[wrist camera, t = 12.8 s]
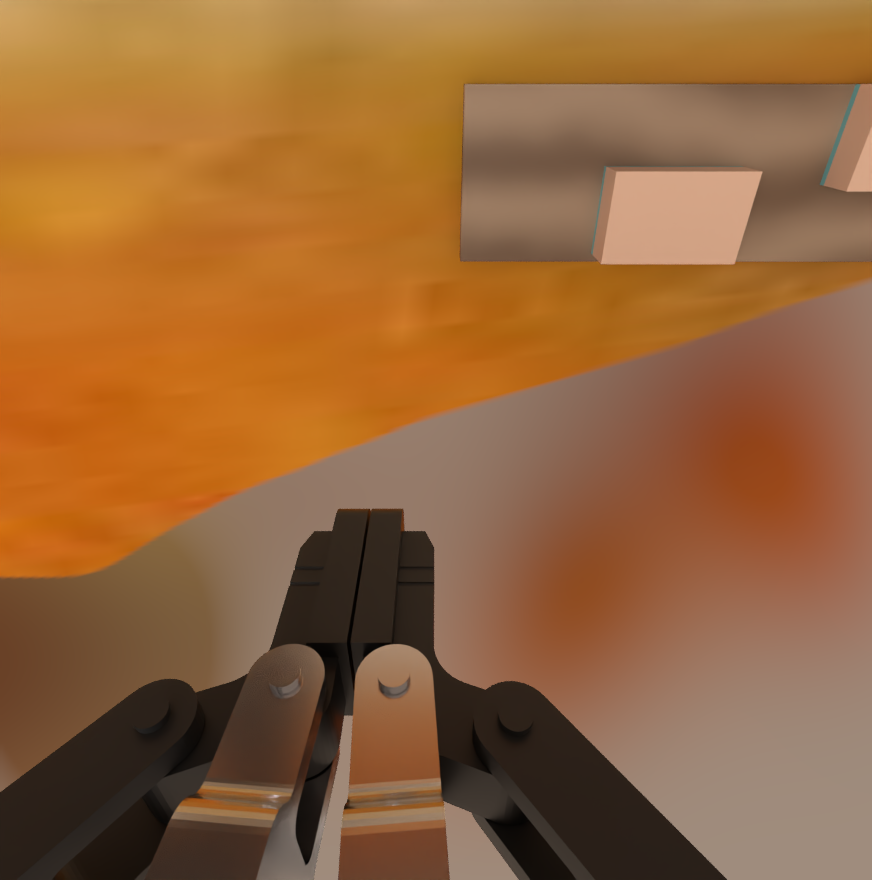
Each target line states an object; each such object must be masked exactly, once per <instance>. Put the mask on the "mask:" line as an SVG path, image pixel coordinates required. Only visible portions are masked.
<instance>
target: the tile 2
mask: <svg viewBox="0 0 872 880" xmlns="http://www.w3.org/2000/svg"><path fill="white" fill-rule="evenodd" d="M820 185H823V186H827V187H831V188H835V189H838V190H842V191H846V192H872V84H856V85H855V88H854V91H853V94H852V96H851V99H850V102H849V105H848V107H847V110H846V113H845V116H844V119H843V121H842V124H841V127H840V130H839V132H838V135H837V138H836V141H835V143H834V146H833V149H832V152H831V155H830V157H829V160H828V163H827V166H826V168H825V171H824V174H823V177H822V180H821V182H820Z"/></svg>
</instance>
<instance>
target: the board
mask: <svg viewBox="0 0 872 880" xmlns="http://www.w3.org/2000/svg"><path fill="white" fill-rule="evenodd" d="M855 85H856V84H464V104H463V146H462V188H461V229H460V261H598V260H597V259H596V258H595V257H594V256H593V255H592V254H591V250H592V244H593V237H594V231H595V224H596V218H597V211H598V205H599V199H600V192H601V186H602V179H603V173H604V167H605V166H743V167H747V168H751V169H755V170H759V171H762V175H761V179H760V182H759V185H758V189H757V192H756V195H755V198H754V202H753V205H752V208H751V212H750V215H749V218H748V222H747V225H746V228H745V231H744V235H743V238H742V241H741V245H740V248H739V251H738V255H737V258H736V261H735V262H872V192H846V191H842V190H838V189H835V188H831V187H827V186H823V185H820V182H821V180H822V177H823V174H824V171H825V168H826V166H827V163H828V160H829V157H830V155H831V152H832V149H833V146H834V143H835V141H836V138H837V135H838V132H839V130H840V127H841V124H842V121H843V119H844V116H845V113H846V110H847V107H848V105H849V102H850V99H851V96H852V94H853V91H854V88H855Z"/></svg>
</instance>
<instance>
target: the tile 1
mask: <svg viewBox="0 0 872 880" xmlns="http://www.w3.org/2000/svg"><path fill="white" fill-rule="evenodd" d="M761 175H762V171H759V170H755V169H751V168H747V167H743V166H605V167H604V173H603V179H602V186H601V192H600V199H599V205H598V211H597V218H596V224H595V231H594V237H593V244H592V250H591V254H592V255H593V256H594V257H595V258H596V259H597V260H598V262H599V263H600V264H735V261H736V258H737V255H738V251H739V248H740V245H741V241H742V238H743V235H744V231H745V228H746V225H747V222H748V218H749V215H750V212H751V208H752V205H753V202H754V198H755V195H756V192H757V189H758V185H759V182H760V179H761Z"/></svg>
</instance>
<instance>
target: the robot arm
mask: <svg viewBox="0 0 872 880" xmlns="http://www.w3.org/2000/svg"><path fill="white" fill-rule="evenodd" d="M344 715H353V725H352V743H351V759H350V777H349V792H348V800H347V803H346V804H345V806H344V811H343V818H342V828H341V843H340V857H339V874H338V880H450V875H449V864H448V863H449V862H448V849H447V836H446V823H445V811H444V802H443V801H445V802H447V803H450V804H452V805H455V806H457V807H460V808H462V809H465V810H467V811H469V812H472V815H473V817H474V818H475V820H476V822H477V823H478V824H479V826H480V827H481V829H482V830H483V831H484V833H485V834H486V835H487V837H488V838H489V839H490V841H491V842H492V843H493V845H494V846H495V848H496V849H497V850H498V852H499V853H500V854H501V856H502V857H503V859H504V860H505V861H506V863H507V864H508V865H509V867H510V868H511V869H512V871H513V872H514V874H515V875H516V876H517V878H518V879H519V880H727V879H726V878H725V877H724V876H723V875H722V874H721V873H720V872H719V871H718V870H717V869H716V868H715V867H714V866H713V865H712V864H711V863H710V862H709V861H708V860H707V859H706V858H705V857H704V856H703V855H702V854H701V853H700V852H699V851H698V850H697V849H696V848H695V847H694V846H693V845H692V844H691V843H690V842H689V841H688V840H687V839H686V838H685V837H684V836H683V835H682V834H681V833H680V832H679V831H678V830H677V829H676V828H675V827H674V826H673V825H672V824H671V823H670V822H669V821H668V820H667V819H666V818H665V817H664V816H663V815H662V814H661V813H660V812H659V811H658V810H657V809H656V808H655V807H654V806H653V805H652V804H651V803H650V802H649V801H648V800H647V799H646V798H645V797H644V796H643V795H642V794H641V793H640V792H639V791H638V790H637V789H636V788H635V787H634V786H633V785H632V784H631V783H630V782H629V781H628V780H627V779H626V778H625V777H624V776H623V775H622V774H621V773H620V772H619V771H618V770H617V769H616V768H615V767H614V766H613V765H612V764H611V763H610V762H609V761H608V760H607V759H606V758H605V757H604V756H603V755H602V754H601V753H600V752H599V751H598V750H597V749H596V748H595V747H594V746H593V745H592V744H591V743H590V742H589V741H588V740H587V739H586V738H585V737H584V736H583V735H582V734H581V733H580V732H579V731H578V730H577V729H576V728H575V727H574V725H573V724H572V723H571V722H570V721H569V720H568V719H566V717H565V716H564V715H562V714H561V713H560V711H558V709H557V708H556V707H555V706H554V705H553V704H552V703H550V701H549V700H548V699H547V698H545V696H544V695H542V694H541V693H540V692H539V691H538V690H536V689H535V688H533V687H531V686H529V685H527V684H524V683H520V682H515V681H505V682H501V683H497V684H495V685H492V686H491V687H489V688H488V689H486V690H484V689H481V688H478V687H476V686H472V685H469V684H467V683H464V682H462V681H459V680H457V679H456V678H454V677H452V676H451V675H450V674H448V673H447V672H446V671H445V670H444V669H443V668H442V666H441V665H440V664H439V662H438V660H437V658H436V655H435V651H434V547H433V545H432V543H431V541H430V539H429V538H428V536H427V534H426V532H425V531H404V511H403V509H372V510H371V511H370V509H338V511H337V513H336V517H335V522H334V526H333V530H332V531H314V533H313V534H312V535H311V536H310V537H309V538H308V540H307V541H306V542H305V543H304V544H303V546H302V547H301V548H300V551H299V555H298V558H297V562H296V565H295V570H294V572H293V575H292V578H291V581H290V586H289V588H288V592H287V595H286V599H285V602H284V605H283V608H282V612H281V615H280V618H279V622H278V625H277V629H276V632H275V635H274V639H273V642H272V645H271V647H270V650H269V651H268V652H267V653H265V654H264V655H263V656H261V657H260V658H259V659H258V660H257V661H256V662H255V664H254V665H253V666H252V667H251V669H250V671H249V673H248V674H246V675H245V676H243V677H241V678H239V679H237V680H235V681H232V682H229V683H226V684H223V685H219V686H216V687H213V688H210V689H206V690H203V691H199V692H197V693H195V692H194V690H193V689H192V687H191V686H190V685H188V684H187V683H185V682H183V681H181V680H177V679H164V680H159V681H154V682H152V683H149V684H147V685H145V686H143V687H141V688H139V689H138V690H136V691H135V692H133V693H132V694H131V695H129V696H128V697H127V698H125V699H124V700H123V701H121V702H120V703H119V704H117V705H116V706H115V707H113V708H112V709H111V710H109V711H108V712H107V713H105V714H104V715H103V716H101V717H100V718H99V719H97V720H96V721H95V722H93V723H92V724H91V725H89V726H88V727H87V728H85V729H84V730H83V731H81V732H80V733H79V734H77V735H76V736H75V737H73V738H72V739H71V740H69V741H68V742H67V743H65V744H64V745H63V746H61V747H60V748H59V749H57V750H56V751H55V752H53V753H52V754H51V755H49V756H48V757H47V758H45V759H44V760H43V761H41V762H40V763H39V764H37V765H36V766H35V767H33V768H32V769H31V770H29V771H28V772H27V773H25V774H24V775H23V776H21V777H20V778H19V779H17V780H16V781H15V782H13V783H12V784H11V785H9V786H8V787H7V788H5V789H4V790H3V791H2V792H0V880H314V876H315V869H316V863H317V858H318V853H319V848H320V844H321V840H322V835H323V830H324V826H325V821H326V816H327V812H328V807H329V803H330V798H331V794H332V788H333V784H334V780H335V775H336V771H337V766H338V761H339V755H340V746H339V745H340V739H341V732H342V726H343V719H344Z"/></svg>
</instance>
